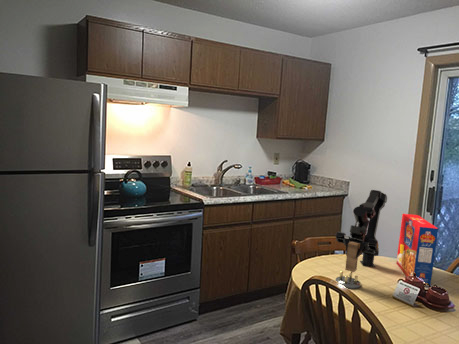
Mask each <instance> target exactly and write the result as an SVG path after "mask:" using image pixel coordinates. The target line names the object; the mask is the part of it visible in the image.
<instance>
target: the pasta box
mask: <svg viewBox="0 0 459 344" xmlns="http://www.w3.org/2000/svg"><path fill="white" fill-rule="evenodd" d="M401 216H402V217H401V223H400V232H399V238H398V247H397V254H396V263H395V264H396V265H397V266H398V268H399V269H400V271H402V272H403V274H404V275H405V276H406V277H407V276H413V272H415V273H416V276H417V277H419V278H422V279H423V280H424V282H425V283H428V284H429V285H430V286H431V285H432V284H431V283H432V277H433V270H434V263H435V256H436V247H437V240H438V233H439V228H438V227H436V225H434V224H432V223H431V222H430V221H428V220H426V219H425V218H423V217H421V215H419V214H410V213H409V214H408V213H402V215H401Z"/></svg>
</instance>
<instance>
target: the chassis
mask: <svg viewBox="0 0 459 344" xmlns="http://www.w3.org/2000/svg"><path fill="white" fill-rule="evenodd" d="M343 274H344V271H340V272H339V276H337V277H336V278H335V281H337V282H338V283H340V284H342V285H344V286H345V287H347V288H346V289H349V290H350V289H351V290H356V289H360V288H361V281H359V280H358V278H359V276H358V275H354V278H353V272H351V271H349V275H345V276H343Z"/></svg>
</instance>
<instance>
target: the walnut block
mask: <svg viewBox="0 0 459 344" xmlns="http://www.w3.org/2000/svg"><path fill="white" fill-rule="evenodd" d="M359 247H360V243H355V242H351V241H350V242H349V243H348V249H347V256H346V259H345V271H347V272H348V271H349V272H350V271H351V272H352V273H355V272H356V271H357V269H358V259H359V257H358V258H356V255H357V252H358V250H359Z"/></svg>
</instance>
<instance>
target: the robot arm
mask: <svg viewBox="0 0 459 344" xmlns="http://www.w3.org/2000/svg"><path fill="white" fill-rule="evenodd" d="M387 202H388V196H387V194H386V193H384V192H382V191H381V190H377V189H371V190H370V191H369V194H368V197H367V199H366V200H365V202H363V203H361V204H359V206H355V207H354V209H353V211H352V213H353V217H354V220H355V224H354V225H350V229H349V233H350V234H349V235H347V234H346V232H342V231H337V232H336V233H335V235H334V236H335V240H336V242H337V243H340V244H343V245H344V246H345V254H346V255H345V256H346V257H347V249H348V243H349V242H355V243H359V250H358V252H357V255H356V258H358V259H359V257H360V256H361V255H362V260H360V261H359V262H360V264H361V265H362V267H371V268H372V267H373V268H376V265H375V264H374V262H375V257H377V256H379V254H380V253H379V252H380V251H379V250H380V249H379V241H378V239H377V236H376V234H377V231H378V224H379V219H380V215H381V211H382V209H384V207H386V204H387Z"/></svg>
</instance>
